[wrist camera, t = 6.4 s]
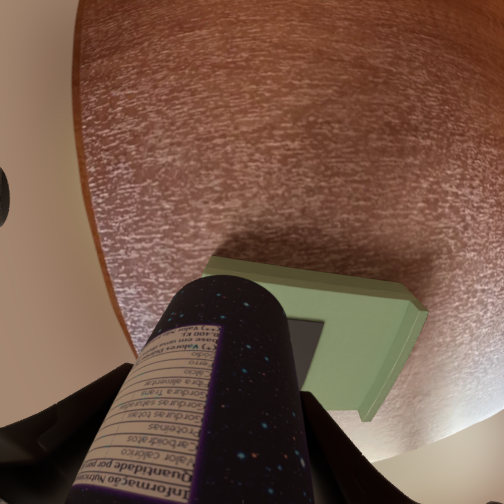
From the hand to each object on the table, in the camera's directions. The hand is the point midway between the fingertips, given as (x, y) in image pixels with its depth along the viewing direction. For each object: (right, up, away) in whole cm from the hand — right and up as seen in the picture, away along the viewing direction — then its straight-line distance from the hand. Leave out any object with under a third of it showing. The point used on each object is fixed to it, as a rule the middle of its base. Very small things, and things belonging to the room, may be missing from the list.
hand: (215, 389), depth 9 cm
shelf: (+5, -2, +14) cm, 16 cm away
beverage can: (0, +1, +5) cm, 5 cm away
